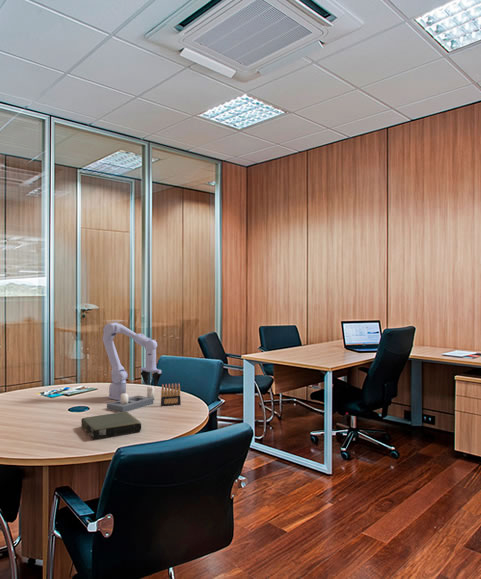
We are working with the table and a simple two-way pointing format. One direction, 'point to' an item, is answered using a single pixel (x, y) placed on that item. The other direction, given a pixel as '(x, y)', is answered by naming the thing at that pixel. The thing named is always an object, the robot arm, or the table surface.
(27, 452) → the table surface
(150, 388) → the white rounded egg shape
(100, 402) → the table surface
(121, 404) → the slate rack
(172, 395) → the ammunition clip
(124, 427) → the network switch
